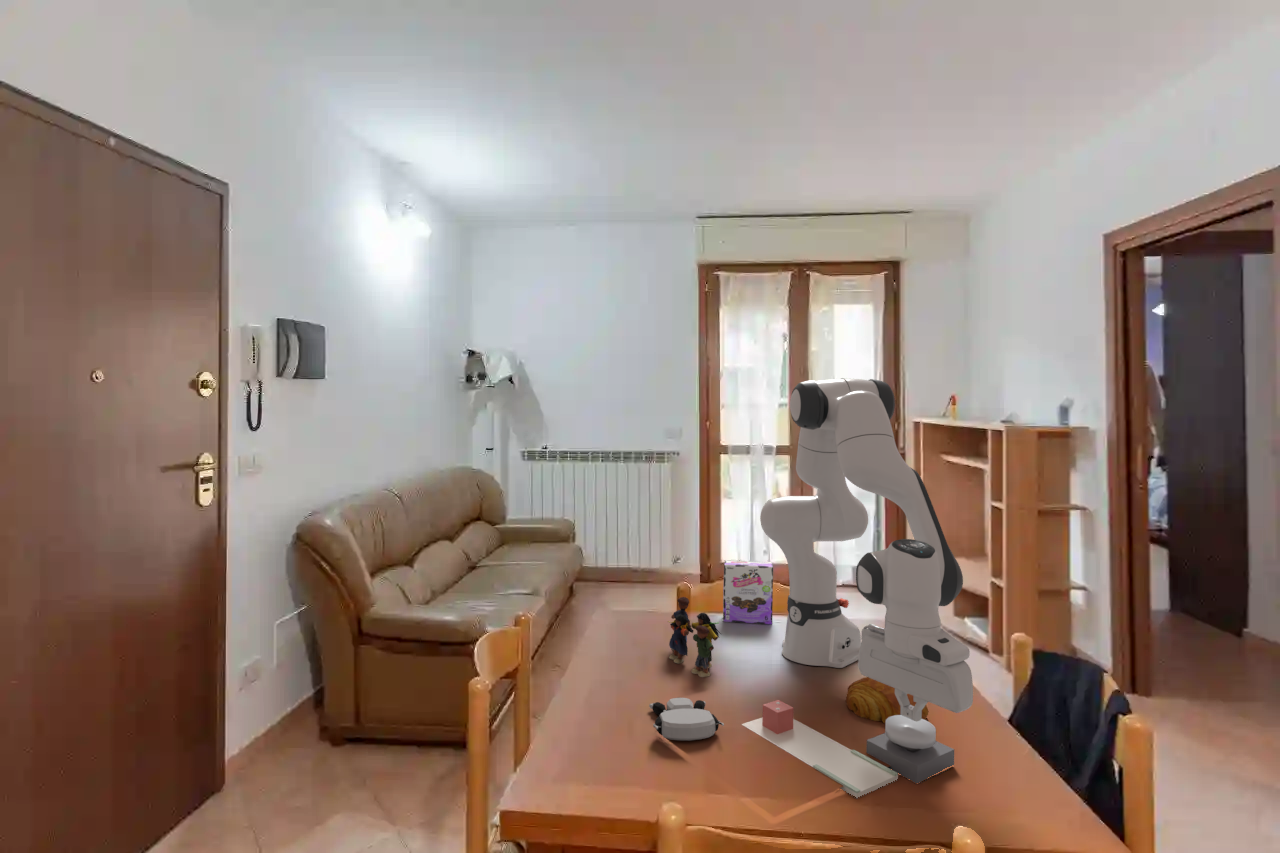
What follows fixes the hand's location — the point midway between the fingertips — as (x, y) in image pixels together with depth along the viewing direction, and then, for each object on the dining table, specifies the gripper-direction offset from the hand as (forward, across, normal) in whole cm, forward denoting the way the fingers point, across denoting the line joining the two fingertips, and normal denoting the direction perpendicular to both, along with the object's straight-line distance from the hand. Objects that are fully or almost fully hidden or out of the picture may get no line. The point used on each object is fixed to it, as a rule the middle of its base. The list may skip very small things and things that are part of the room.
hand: (910, 717), depth 117 cm
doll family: (+8, -57, -4) cm, 58 cm away
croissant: (+8, -14, +12) cm, 21 cm away
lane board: (+8, -11, -13) cm, 19 cm away
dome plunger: (+5, 0, 0) cm, 5 cm away
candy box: (+7, -73, +28) cm, 79 cm away
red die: (+7, -20, -11) cm, 24 cm away
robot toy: (+8, -30, -26) cm, 41 cm away
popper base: (+8, 0, 0) cm, 8 cm away
